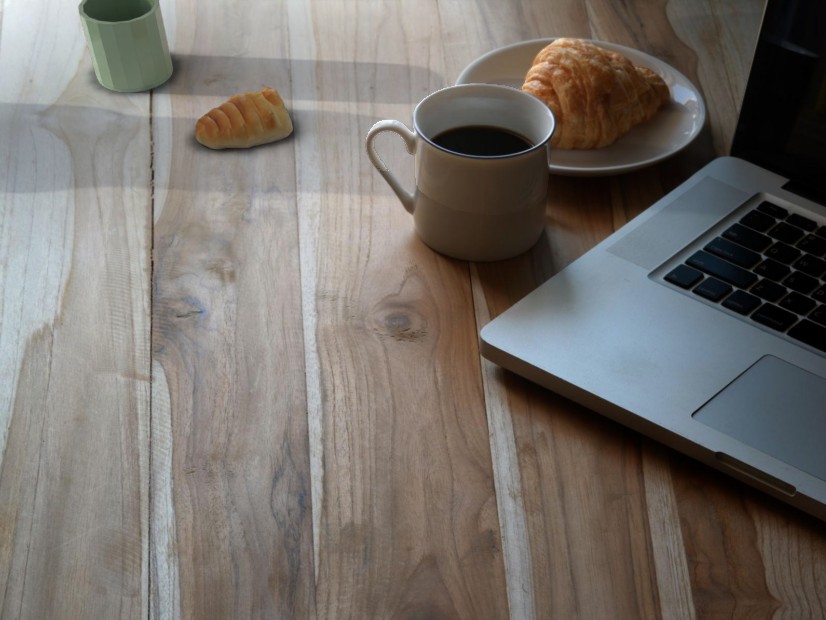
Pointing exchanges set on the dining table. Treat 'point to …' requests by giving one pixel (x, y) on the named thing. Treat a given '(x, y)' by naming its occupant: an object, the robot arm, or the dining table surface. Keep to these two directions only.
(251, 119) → the pastry
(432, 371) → the dining table surface
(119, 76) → the canister
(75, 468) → the dining table surface
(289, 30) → the dining table surface
